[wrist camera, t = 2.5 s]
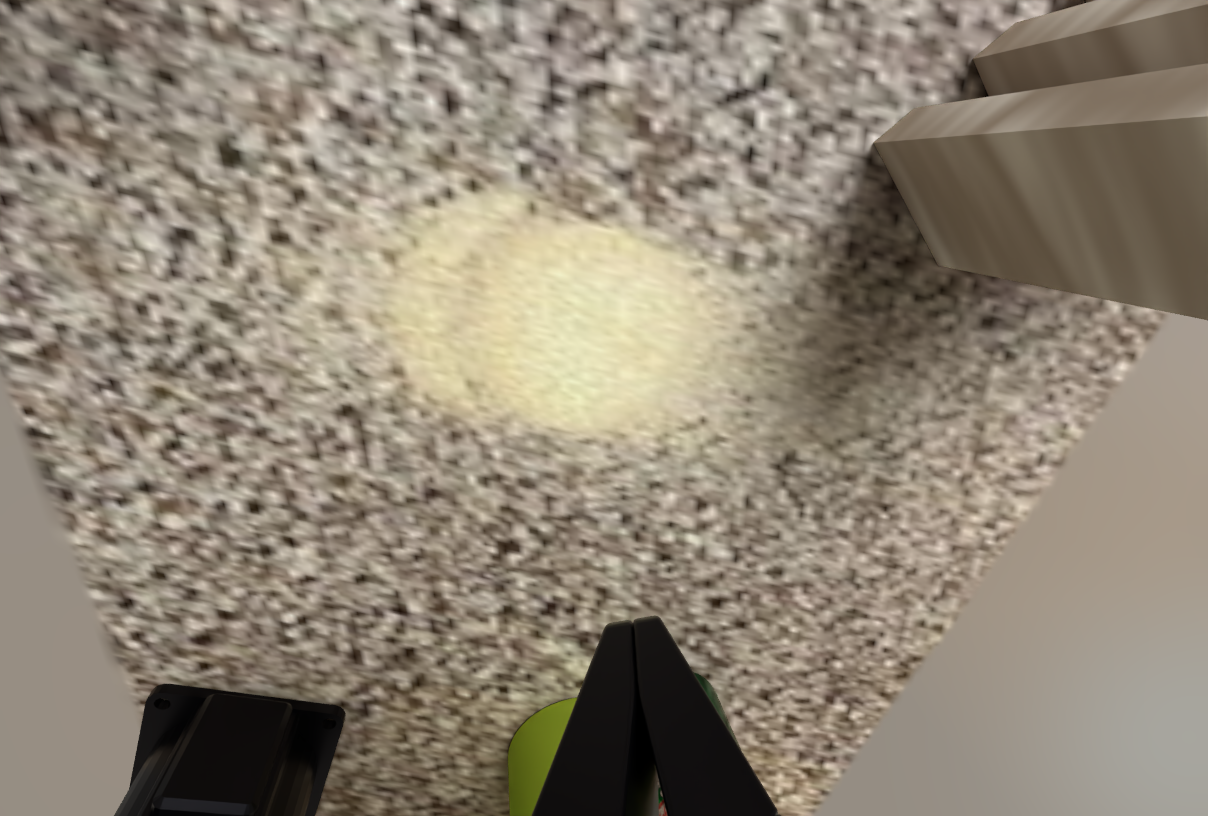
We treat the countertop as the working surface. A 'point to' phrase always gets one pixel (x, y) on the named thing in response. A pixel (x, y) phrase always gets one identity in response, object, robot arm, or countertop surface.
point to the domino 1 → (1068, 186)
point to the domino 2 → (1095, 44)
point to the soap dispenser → (535, 755)
